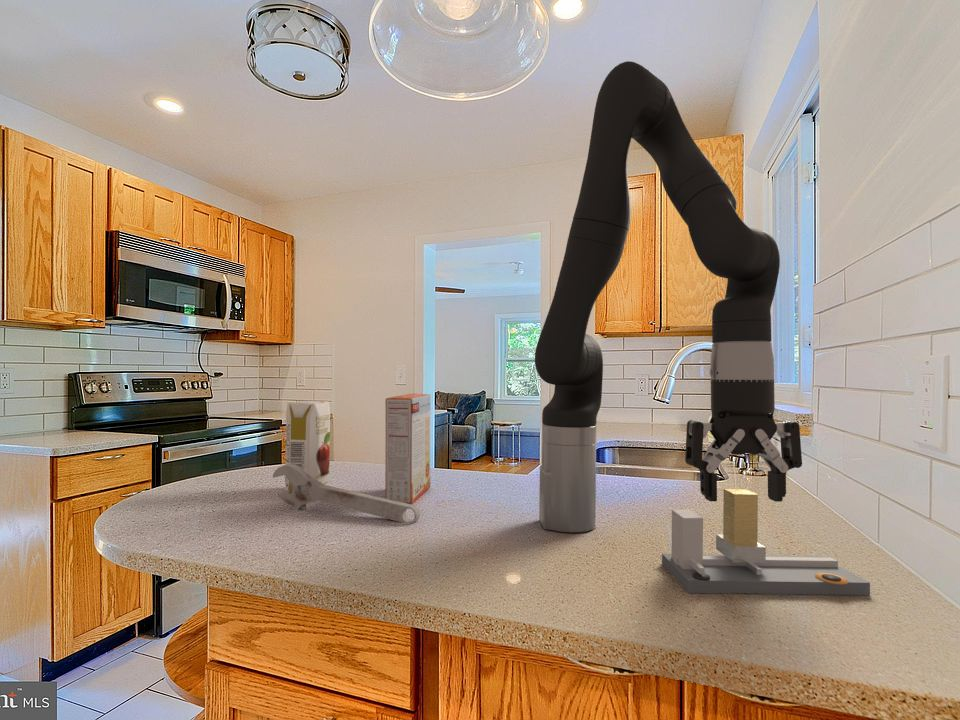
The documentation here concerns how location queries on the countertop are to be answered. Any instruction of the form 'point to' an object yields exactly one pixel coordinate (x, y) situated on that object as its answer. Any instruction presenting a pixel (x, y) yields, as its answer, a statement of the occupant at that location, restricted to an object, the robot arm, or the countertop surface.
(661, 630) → the countertop surface
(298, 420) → the juice carton
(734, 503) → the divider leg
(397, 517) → the wrench
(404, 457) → the cracker box
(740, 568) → the bolt plate
